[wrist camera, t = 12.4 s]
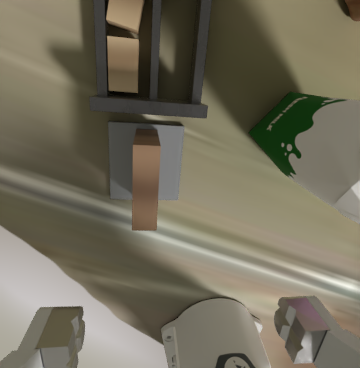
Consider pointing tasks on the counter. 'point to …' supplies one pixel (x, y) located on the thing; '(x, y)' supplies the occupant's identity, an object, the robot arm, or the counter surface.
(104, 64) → the rack
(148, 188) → the brown flat block
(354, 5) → the cupcake
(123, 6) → the oak offcut
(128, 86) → the oak offcut
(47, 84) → the counter surface
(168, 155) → the grey mat
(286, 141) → the milk carton
